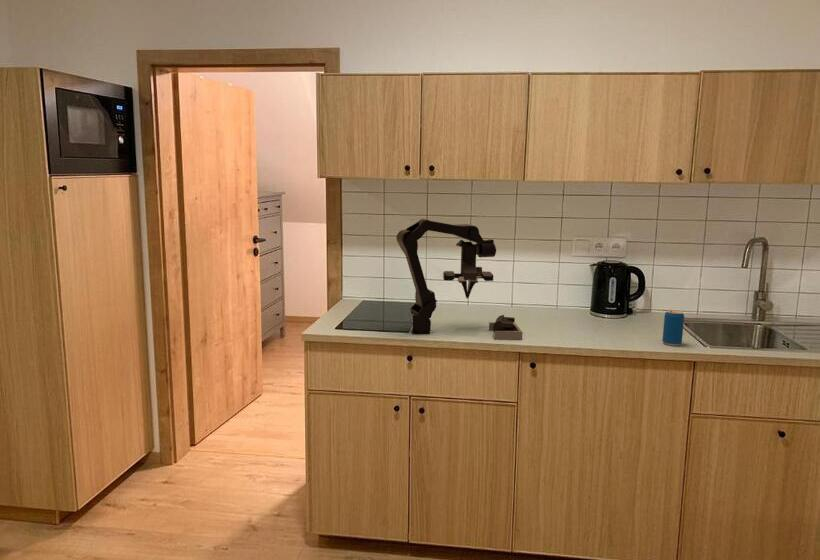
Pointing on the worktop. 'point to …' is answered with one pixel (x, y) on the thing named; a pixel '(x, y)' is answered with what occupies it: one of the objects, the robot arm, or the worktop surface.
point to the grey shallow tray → (507, 333)
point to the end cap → (504, 324)
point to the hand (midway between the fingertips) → (467, 298)
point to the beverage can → (673, 327)
